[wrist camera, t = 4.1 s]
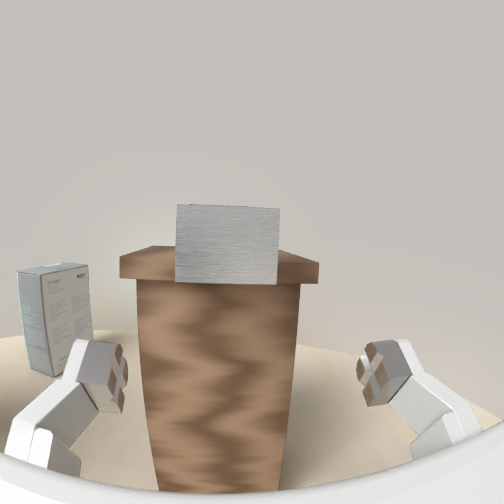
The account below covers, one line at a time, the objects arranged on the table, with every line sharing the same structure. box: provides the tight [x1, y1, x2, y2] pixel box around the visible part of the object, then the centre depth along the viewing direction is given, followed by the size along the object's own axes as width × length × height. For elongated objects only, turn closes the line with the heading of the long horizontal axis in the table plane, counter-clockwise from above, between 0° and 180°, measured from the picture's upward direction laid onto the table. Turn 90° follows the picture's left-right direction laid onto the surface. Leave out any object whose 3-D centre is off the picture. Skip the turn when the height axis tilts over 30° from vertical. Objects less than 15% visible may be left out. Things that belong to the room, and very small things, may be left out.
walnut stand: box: [120, 246, 319, 494], centre depth 28 cm, size 14×13×26 cm
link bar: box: [175, 204, 280, 285], centre depth 23 cm, size 6×22×4 cm, turn 7°
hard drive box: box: [17, 263, 94, 377], centre depth 53 cm, size 16×8×20 cm, turn 172°
